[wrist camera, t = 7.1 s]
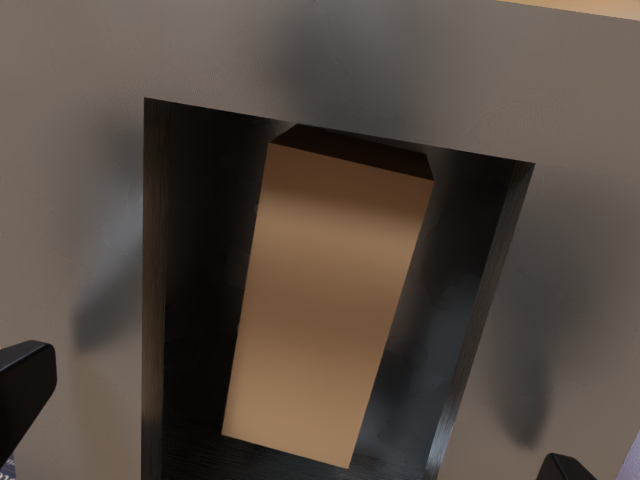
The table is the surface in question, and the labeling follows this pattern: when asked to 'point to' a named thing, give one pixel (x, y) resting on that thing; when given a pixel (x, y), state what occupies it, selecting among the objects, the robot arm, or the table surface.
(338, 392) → the tan rectangular block
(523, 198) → the grey slotted block
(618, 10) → the table surface
